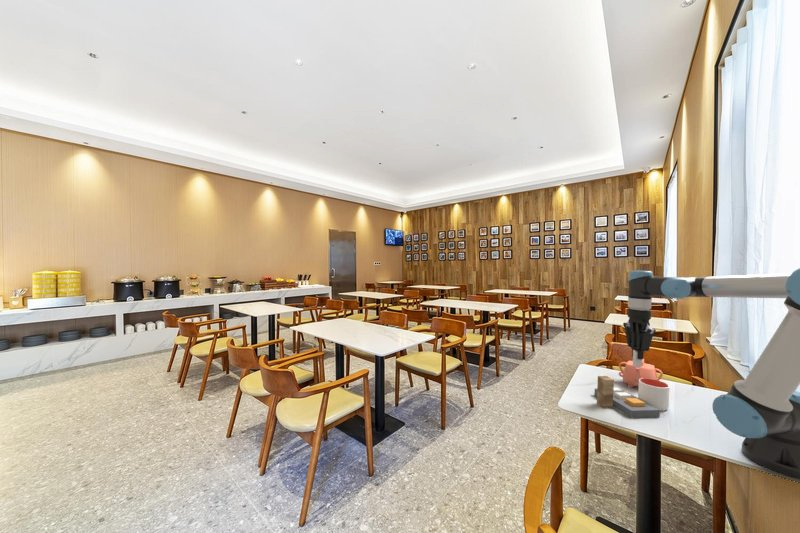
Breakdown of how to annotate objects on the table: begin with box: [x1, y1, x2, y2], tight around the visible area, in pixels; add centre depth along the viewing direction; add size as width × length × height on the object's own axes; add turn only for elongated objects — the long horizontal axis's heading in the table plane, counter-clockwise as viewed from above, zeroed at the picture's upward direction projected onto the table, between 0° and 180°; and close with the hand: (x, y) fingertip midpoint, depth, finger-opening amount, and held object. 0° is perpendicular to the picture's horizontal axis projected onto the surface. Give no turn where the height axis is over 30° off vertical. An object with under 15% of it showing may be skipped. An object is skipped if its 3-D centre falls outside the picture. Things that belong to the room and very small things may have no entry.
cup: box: [637, 378, 670, 412], centre depth 129 cm, size 10×10×10 cm
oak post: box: [596, 375, 615, 409], centre depth 128 cm, size 4×4×12 cm
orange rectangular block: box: [625, 397, 645, 407], centre depth 124 cm, size 4×5×3 cm
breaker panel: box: [594, 386, 661, 419], centre depth 129 cm, size 20×12×4 cm, turn 5°
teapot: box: [618, 358, 664, 388], centre depth 149 cm, size 15×17×13 cm
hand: (637, 366), depth 124 cm, fingers closed
